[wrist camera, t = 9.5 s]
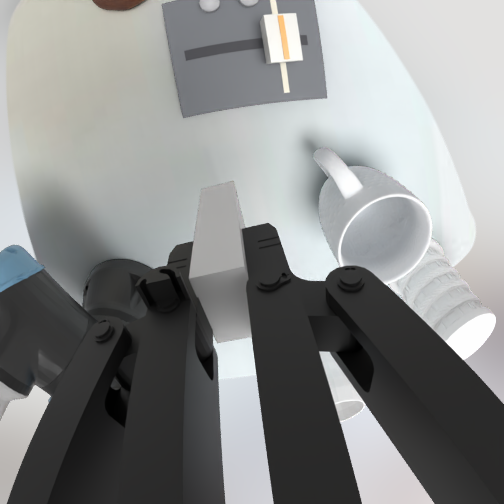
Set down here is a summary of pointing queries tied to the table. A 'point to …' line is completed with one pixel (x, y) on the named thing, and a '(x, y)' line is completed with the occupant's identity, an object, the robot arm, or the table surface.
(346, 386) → the cup
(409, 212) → the mug
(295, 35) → the fader cap
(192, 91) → the console
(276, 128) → the table surface
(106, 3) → the bread
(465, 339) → the decorative container
